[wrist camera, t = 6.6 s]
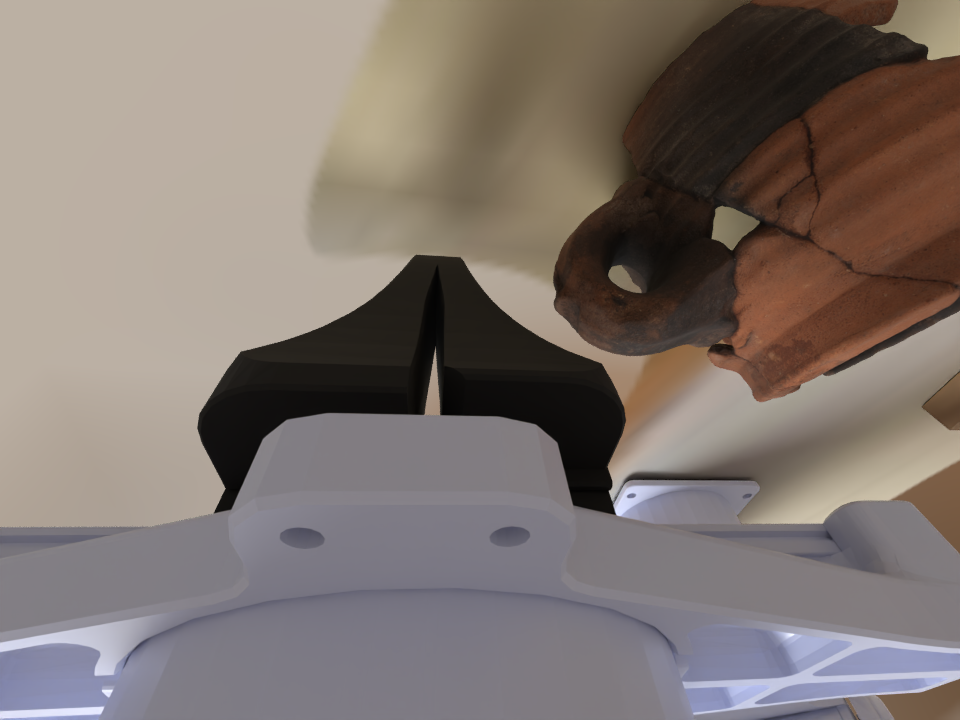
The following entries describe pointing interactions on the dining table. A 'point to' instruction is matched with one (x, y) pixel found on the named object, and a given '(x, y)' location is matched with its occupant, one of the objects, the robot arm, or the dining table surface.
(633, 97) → the dining table surface
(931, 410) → the rail
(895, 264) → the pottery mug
